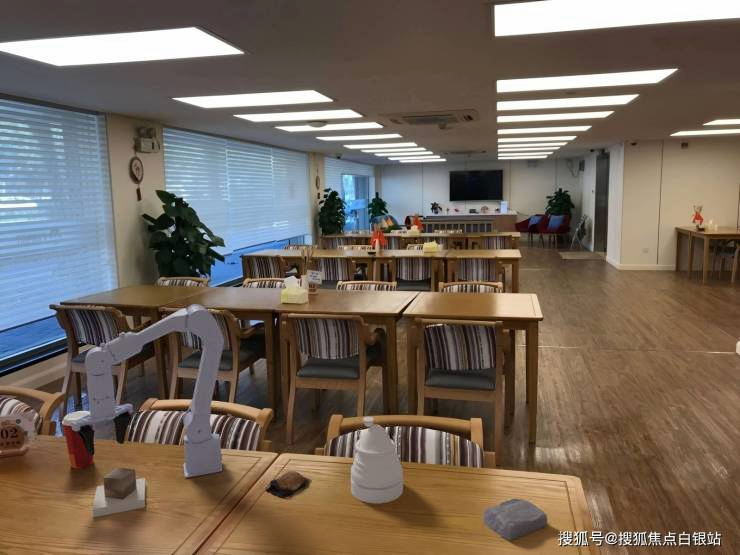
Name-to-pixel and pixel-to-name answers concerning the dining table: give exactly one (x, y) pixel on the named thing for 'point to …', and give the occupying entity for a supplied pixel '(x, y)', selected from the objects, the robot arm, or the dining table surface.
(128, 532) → the dining table surface
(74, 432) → the paper cup
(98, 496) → the stoneware tile
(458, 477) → the dining table surface
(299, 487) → the brown rounded lump
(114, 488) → the walnut block
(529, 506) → the stone block
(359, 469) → the honey pot
